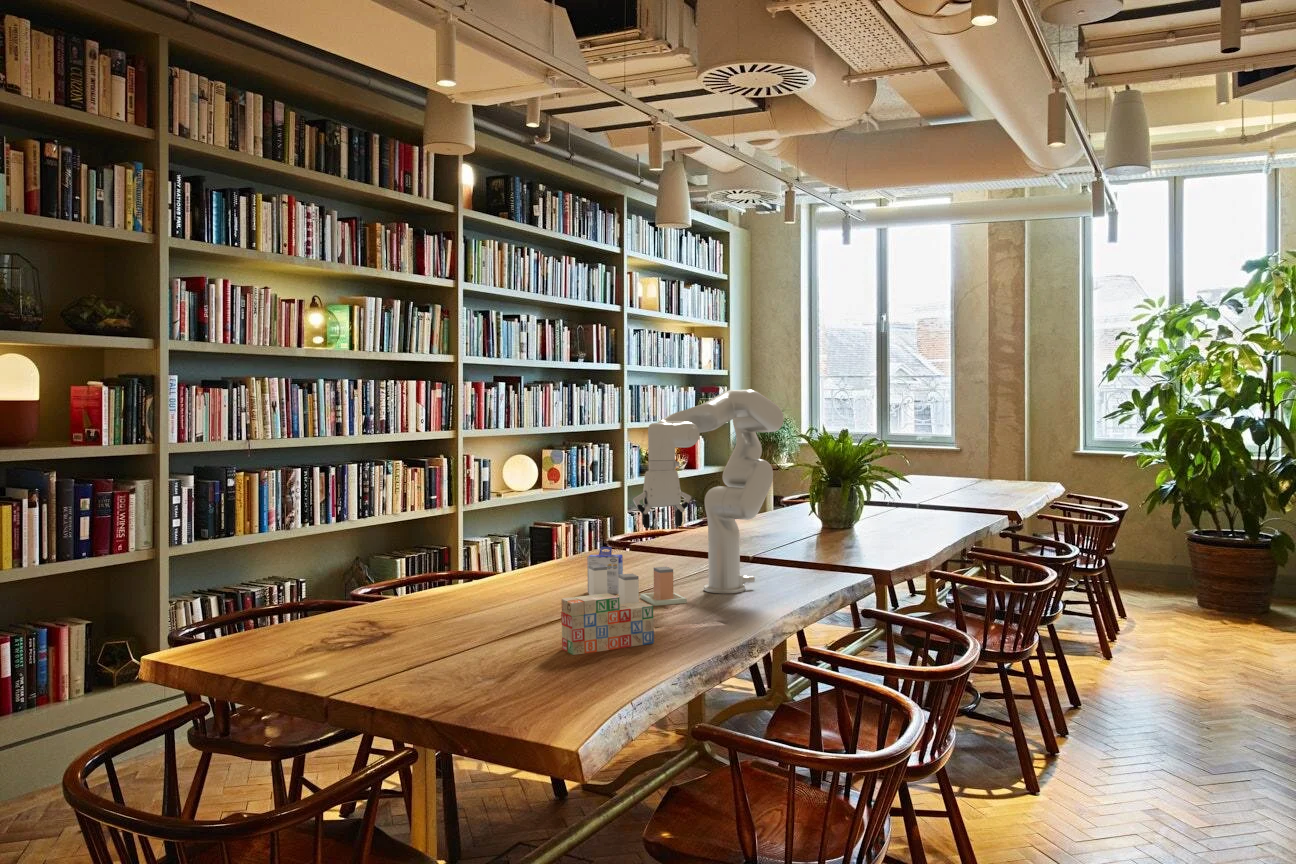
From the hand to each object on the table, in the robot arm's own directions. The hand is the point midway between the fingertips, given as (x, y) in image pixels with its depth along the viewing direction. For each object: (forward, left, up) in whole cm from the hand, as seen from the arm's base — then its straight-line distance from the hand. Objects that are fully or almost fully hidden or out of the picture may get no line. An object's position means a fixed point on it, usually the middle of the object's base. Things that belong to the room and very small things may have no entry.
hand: (662, 526), depth 286 cm
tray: (0, 0, -22) cm, 22 cm away
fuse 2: (+14, +9, -21) cm, 27 cm away
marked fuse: (0, 0, -22) cm, 22 cm away
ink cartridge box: (+11, -19, -23) cm, 31 cm away
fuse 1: (+17, -9, -21) cm, 28 cm away
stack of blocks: (+30, +40, -23) cm, 55 cm away
